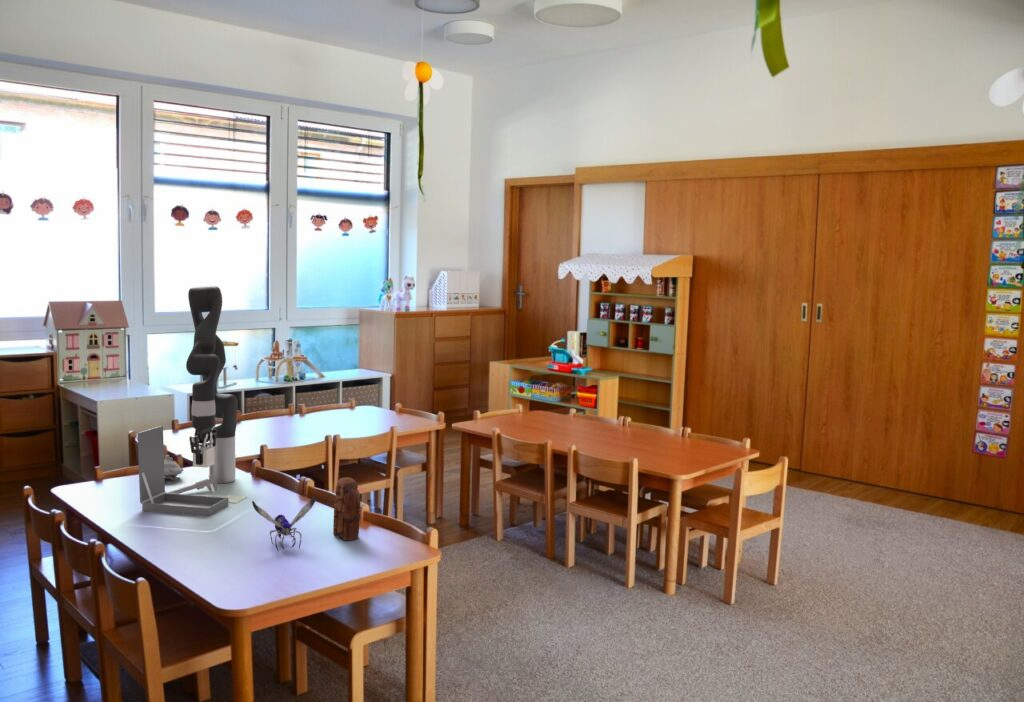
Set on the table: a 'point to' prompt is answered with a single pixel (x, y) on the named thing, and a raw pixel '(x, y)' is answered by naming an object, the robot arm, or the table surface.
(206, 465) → the block
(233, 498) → the mat
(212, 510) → the equipment case
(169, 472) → the grey clay mound
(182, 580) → the table surface
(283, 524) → the mechanical insect
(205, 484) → the caliper
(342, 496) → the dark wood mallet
